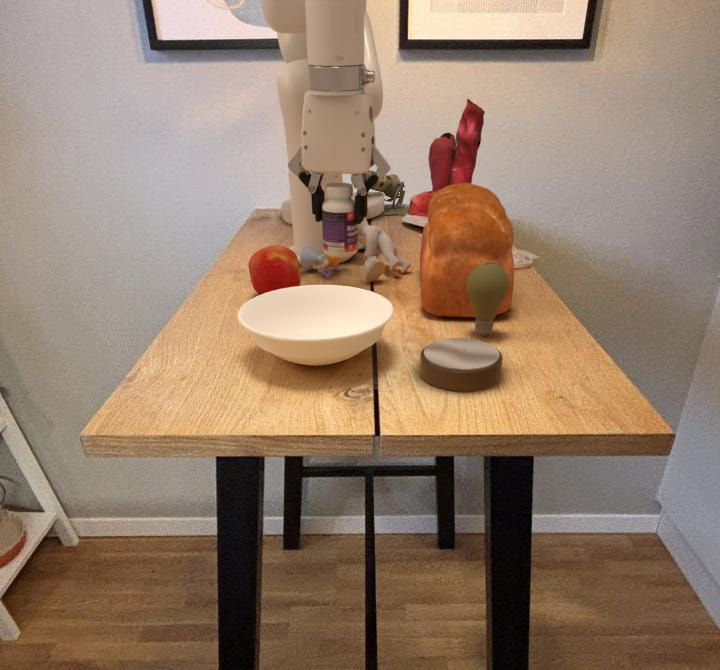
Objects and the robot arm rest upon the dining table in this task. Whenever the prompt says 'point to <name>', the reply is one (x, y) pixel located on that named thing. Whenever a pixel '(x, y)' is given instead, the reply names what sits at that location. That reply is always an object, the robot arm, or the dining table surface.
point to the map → (397, 211)
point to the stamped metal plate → (524, 259)
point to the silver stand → (461, 364)
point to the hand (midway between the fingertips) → (339, 219)
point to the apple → (274, 269)
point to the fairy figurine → (316, 260)
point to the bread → (462, 247)
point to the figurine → (375, 246)
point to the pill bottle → (339, 221)
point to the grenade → (387, 187)
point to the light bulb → (487, 294)
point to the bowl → (316, 322)
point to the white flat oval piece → (373, 202)
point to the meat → (450, 161)
